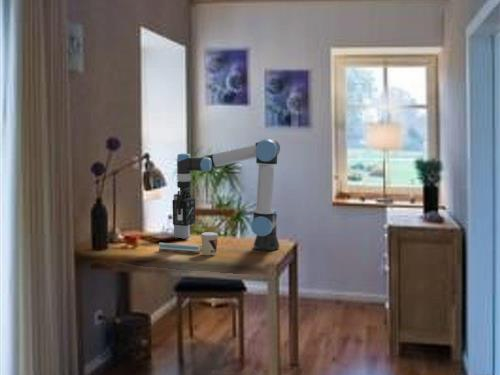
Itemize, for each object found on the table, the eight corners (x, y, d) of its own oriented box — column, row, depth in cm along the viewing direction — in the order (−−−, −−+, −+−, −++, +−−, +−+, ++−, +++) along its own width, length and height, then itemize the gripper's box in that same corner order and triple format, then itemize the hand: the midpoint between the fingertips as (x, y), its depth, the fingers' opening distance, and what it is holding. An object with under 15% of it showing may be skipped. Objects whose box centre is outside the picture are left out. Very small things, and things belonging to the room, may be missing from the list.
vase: (193, 236, 419) (192, 194, 415) (183, 239, 410) (182, 196, 407) (180, 235, 424) (180, 193, 420) (170, 237, 415) (170, 195, 412)
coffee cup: (211, 257, 365) (211, 236, 364) (197, 255, 370) (197, 234, 368) (221, 254, 373) (221, 233, 371) (207, 252, 378) (207, 231, 376)
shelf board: (206, 248, 386) (206, 246, 386) (198, 254, 373) (198, 251, 373) (168, 245, 392) (168, 243, 392) (159, 251, 379) (159, 248, 379)
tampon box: (181, 221, 389) (181, 197, 387) (195, 223, 385) (195, 198, 383) (172, 224, 379) (171, 199, 377) (186, 226, 375) (186, 200, 373)
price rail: (199, 250, 374) (199, 245, 373) (198, 251, 372) (198, 245, 372) (159, 248, 380) (159, 242, 379) (158, 248, 378) (158, 243, 378)
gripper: (185, 178, 391) (185, 214, 394) (169, 183, 368) (170, 221, 371) (197, 178, 389) (197, 215, 392) (182, 183, 366) (182, 222, 369)
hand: (183, 218), depth 382 cm, fingers closed on tampon box, 12 cm apart
